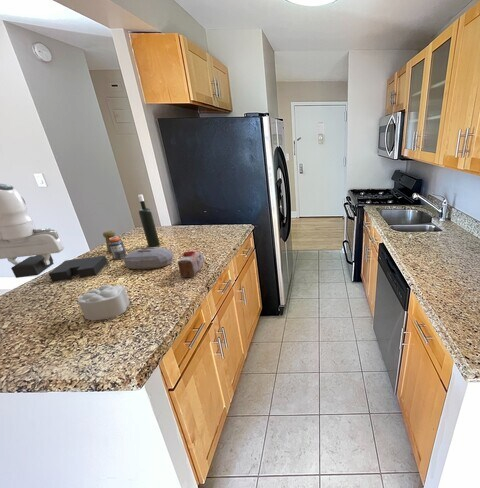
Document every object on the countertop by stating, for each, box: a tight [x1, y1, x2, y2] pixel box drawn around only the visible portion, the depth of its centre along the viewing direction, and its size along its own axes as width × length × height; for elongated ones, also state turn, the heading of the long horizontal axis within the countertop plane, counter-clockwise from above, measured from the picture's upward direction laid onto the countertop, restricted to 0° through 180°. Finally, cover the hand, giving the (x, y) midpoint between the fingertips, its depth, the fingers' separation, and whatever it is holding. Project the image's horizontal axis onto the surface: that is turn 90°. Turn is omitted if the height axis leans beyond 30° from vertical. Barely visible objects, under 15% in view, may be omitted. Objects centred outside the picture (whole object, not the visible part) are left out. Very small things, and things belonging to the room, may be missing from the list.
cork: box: [102, 230, 116, 253], centre depth 145 cm, size 6×6×11 cm
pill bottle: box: [108, 236, 128, 261], centre depth 135 cm, size 6×6×11 cm
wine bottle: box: [137, 194, 161, 248], centre depth 147 cm, size 6×6×30 cm
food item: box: [177, 249, 205, 278], centre depth 121 cm, size 14×8×10 cm, turn 8°
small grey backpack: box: [123, 246, 174, 270], centre depth 128 cm, size 15×8×20 cm
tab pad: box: [10, 254, 54, 279], centre depth 97 cm, size 6×13×4 cm, turn 20°
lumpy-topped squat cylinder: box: [76, 284, 131, 321], centre depth 93 cm, size 10×13×9 cm
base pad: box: [48, 255, 109, 282], centre depth 122 cm, size 16×14×4 cm
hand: (33, 266), depth 96 cm, fingers closed on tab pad, 6 cm apart
